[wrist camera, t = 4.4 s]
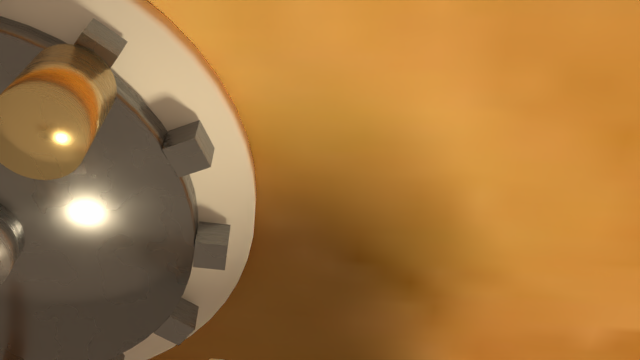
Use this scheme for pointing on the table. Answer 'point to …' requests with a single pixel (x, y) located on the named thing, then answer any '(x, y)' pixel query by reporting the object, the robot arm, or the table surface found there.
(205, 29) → the table surface
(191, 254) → the sprocket
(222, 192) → the sprocket base
